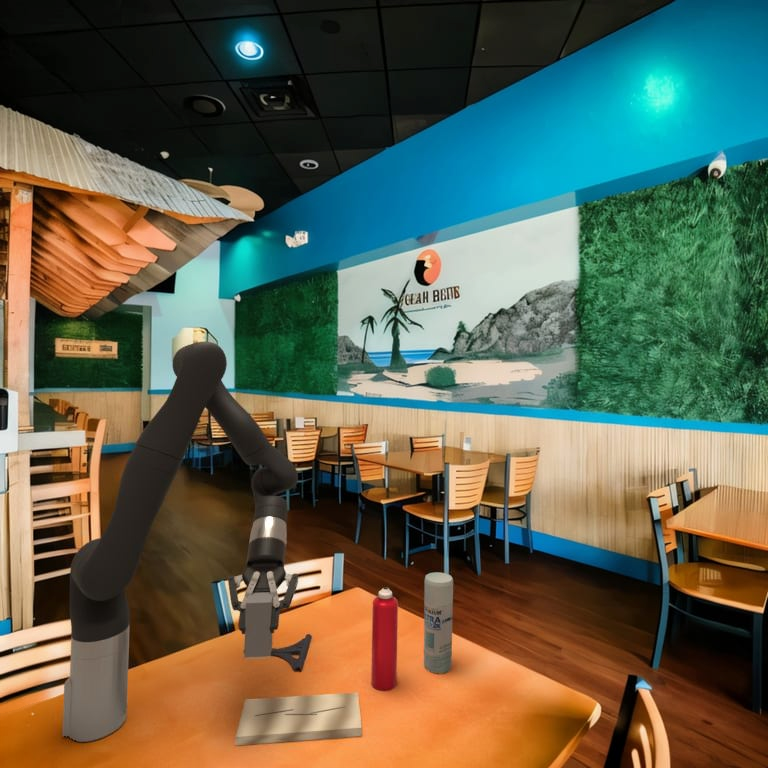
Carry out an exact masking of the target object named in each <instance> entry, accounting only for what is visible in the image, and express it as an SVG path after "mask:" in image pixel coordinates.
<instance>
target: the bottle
mask: <svg viewBox="0 0 768 768" xmlns="http://www.w3.org/2000/svg"><path fill="white" fill-rule="evenodd" d="M398 610H399V602H398V599H397V598H396V597H395V596H393V592H392V590H390V588H389V587H387V586H385V587H383V588H382V589H381V590H379V591H378V595H376V597H374V598H373V600H372V615H371V617H372V619H371V621H372V622H371V623H372V624H371V665H370V666H371V673H370V675H371V676H370V678H371V679H370V681H371V682H370V683H371V684H370V685H371V687H373V688H374V689H375V690H378V691H381V692H386V691H391V690H394V689H395V688H396V687H397V682H398V681H397V680H398V679H397V677H398V672H397V671H398V628H399V627H398V624H399V623H398V622H399V621H398V620H399V619H398V617H399V611H398Z"/></svg>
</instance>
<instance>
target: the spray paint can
mask: <svg viewBox="0 0 768 768" xmlns="http://www.w3.org/2000/svg"><path fill="white" fill-rule="evenodd" d="M423 595H424V601H423V603H424V606H423V609H424V612H423V613H424V615H423V619H424V621H423V666H425V667H424V668H425V669H426V670H427V671H428V670H429V671H430V672H429V671H428V672H429V673H432V672H433V673H432V674H435V673H444V674H447V673H449V672H450V671H451V669H452V661H453V659H452V658H453V657H452V654H453V653H452V652H453V651H452V648H453V647H452V646H453V605H454V579H453V577H452V575H450V574H448V573H445V572H441V571H440V572H437V571H436V572H429V573H428V574H426V575H425V578H424V594H423ZM449 670H450V671H449ZM448 671H449V672H448ZM446 672H447V673H446Z"/></svg>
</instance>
